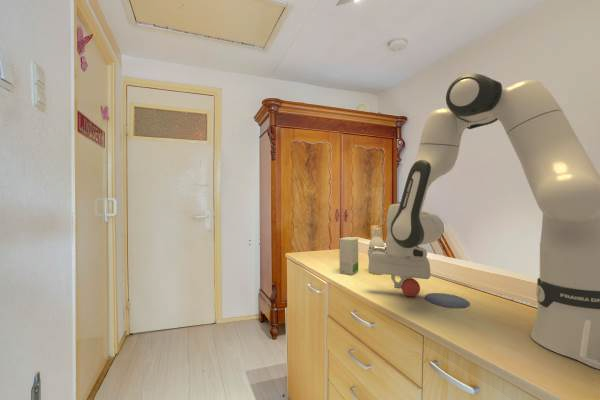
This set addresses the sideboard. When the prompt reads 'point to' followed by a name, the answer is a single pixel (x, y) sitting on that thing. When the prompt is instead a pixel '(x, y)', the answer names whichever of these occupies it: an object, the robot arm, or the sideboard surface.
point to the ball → (410, 287)
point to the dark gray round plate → (447, 300)
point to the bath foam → (376, 241)
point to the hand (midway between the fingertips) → (397, 288)
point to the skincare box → (348, 255)
